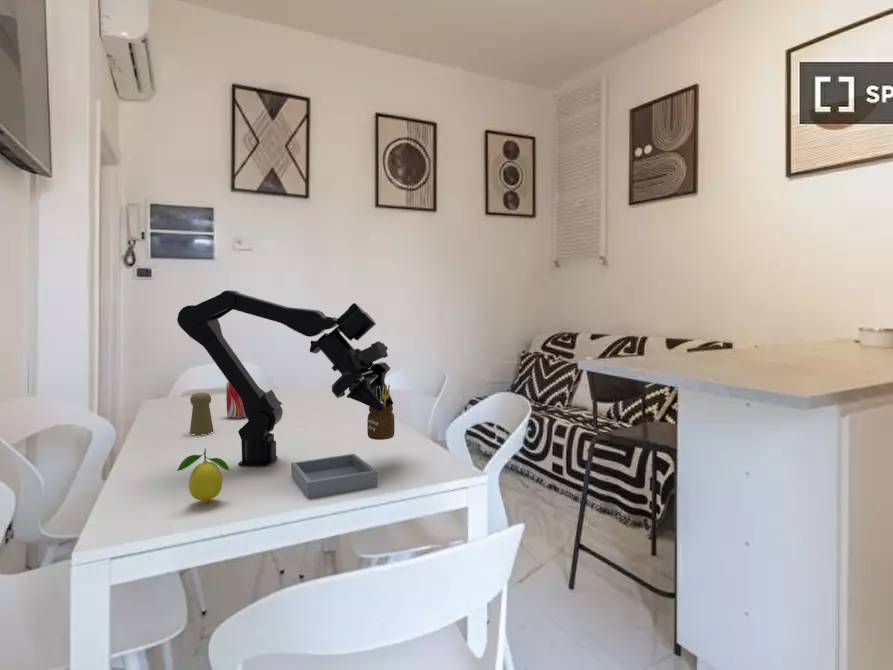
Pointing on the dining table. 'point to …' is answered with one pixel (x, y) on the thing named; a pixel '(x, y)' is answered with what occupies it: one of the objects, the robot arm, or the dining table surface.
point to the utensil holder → (381, 419)
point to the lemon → (204, 477)
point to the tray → (333, 475)
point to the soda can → (233, 403)
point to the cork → (201, 414)
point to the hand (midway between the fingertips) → (387, 407)
